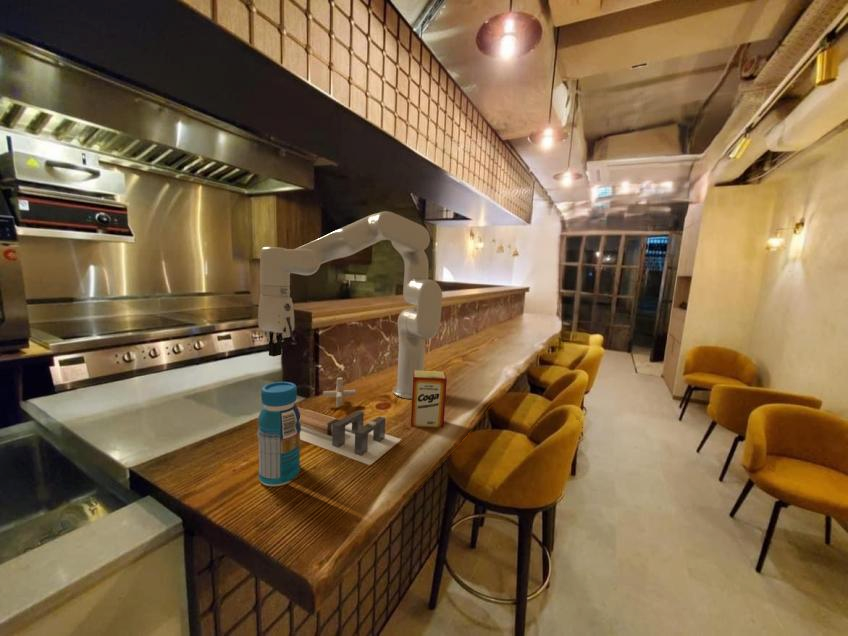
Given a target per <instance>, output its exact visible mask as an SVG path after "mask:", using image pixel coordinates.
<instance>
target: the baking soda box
mask: <svg viewBox="0 0 848 636" xmlns="http://www.w3.org/2000/svg"><path fill="white" fill-rule="evenodd" d="M447 379H448V378H447V375H446V372H445V371H440V370H439V371H438V370H423V371H418V370H413V386H412V399H411V405H410V406H411V407H410V408H411V411H410V427H418V428H419V427H421V428H443V429H444V427H445V426H444V423H445V411H446V409H445V408H446V398H447V397H446V396H447V395H446V394H447V383H448V382H447V381H448V380H447Z"/></svg>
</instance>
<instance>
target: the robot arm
mask: <svg viewBox="0 0 848 636" xmlns="http://www.w3.org/2000/svg"><path fill="white" fill-rule="evenodd" d="M386 240H388V241H391V244H392V247H393V249H395V251H397V252H398V253H399V255H400V256H401V258H402V259H403V263H404V273H403V274H404V276H403V289H402V296H403V299H404V301H405V302H406V303H407V304H410V305H412V306H416V308H412V307H409V308H406V309H404V310H402V311H401V312H400V313H399V315H398V318H397V332H398V357H397V378H396V379H397V380H396V386H394V387H392V394H393V393H394V394H395V395H394V394H393V395H394V396H396V397H398V396H399V397H398V398H401V397H402V398H401V399H409V400H410V399H411V400H412V386H413V370H418V371H425V370H424V369H425V368H424V366H425V352H426V350H425V349H426V344H425V340H431V339H433V338H435V337H436V336H437V334H438V332H439V329H440V325H441V318H442V307H443V305H442V304H443V292H442V291H443V290H442V288H441V287H440V285H439V284H438V282H437V281H435V280H433V279H429V260H428V259H429V258H428V256H427V254H426V252H425V250H426V249H428V247H429V245H430V244H431V243H430V241H431V237H430V233H429V230H428V229H427V228H426V227H425V226H423V225H421V224H419V223H418V222H415V221H413V220H411V219H408V218H406V217H405V216H402V215H400V214H396V213H395V212H392V211H380V212H377V213H373V214H370V215H368V216H365V217H363V218H361V219H359V220H356V221H355V222H354V221H353V222H352V223H350V224H346V225H345V226H342V227H341V228H339V229H335V230H334V231H332V232H330V233H328V234H326V235H324V236H322V237H320V238H317V239H315V240H312V241H310V242H309V243H305V244H304V245H301V246H299V247H296V248H293V249H292V248H284V247H275V246H264V247H262V248H260V252H259V253H260V254H259V255H260V256H259V261H260V263H259V265H260V267H259V268H260V269H259V270H260V272H259V273H260V274H259V275H260V277H259V281H260V282H259V283H260V297H259V300H258V301H259V302H258V308H257V310H258V312H257V313H258V314H257V323H258V324H257V325H258V328H259V329H260V332H261V333H262V335H265V336H266V337H265V338H266V340H267V341H266V342H267V343H268V356H269V357H278V356H282V354H283V343H284V340H285V339H286V338H290V337H291V332H293V331H294V330H295V312H294V309H295V308H294V304H293V298H292V297H290V295H291V294H290V293H291V289H290V285H291V283H290V281H291V277H290V276H291V274H293V275H294V274H296V275H301V276H310V275H311V276H312V275H314V274H315V273H317V272H318V270H319V269H320V266H321V265H322V264H323V265H324V263H327V262H330V261H333V260H338V259H342V258H347V257H349V256H353V255H354V254H356V253H358V252H360V251H362V250H364V249H366V248H368V247H370V246H372V245H375V244H376V243H378V242H379V243H380V242H381V241H386Z"/></svg>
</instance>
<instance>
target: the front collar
mask: <svg viewBox="0 0 848 636" xmlns="http://www.w3.org/2000/svg"><path fill="white" fill-rule="evenodd" d="M371 431H373V440H374V441H377V442H380V441H382V440H383V439H384V438H385V434H386V418H385V417H382V416H377V417H376V418H374V419H372V420H369V421H366V422H365V425H363V427H362V428H360V429H359V430H357V431H355V454H357V455H360V456H362V455H363V454H365V453H366V452H367V449H368V433H370V432H371Z"/></svg>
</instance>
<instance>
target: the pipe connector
mask: <svg viewBox="0 0 848 636" xmlns="http://www.w3.org/2000/svg"><path fill="white" fill-rule="evenodd" d="M343 380H344V379H343V377H337V378H336V388H335V389H336V390H323V392H322V398H329V397H332V398H333V397H336V401H335V403H336V404H335V405H336V406H337V407H342V406H343V400H344V399H343V397H350V396H356V395H357V394H356V393H357V392H356V389H345V390H343V389H344V388H343V385H344V384H343V383H344V381H343Z"/></svg>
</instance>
